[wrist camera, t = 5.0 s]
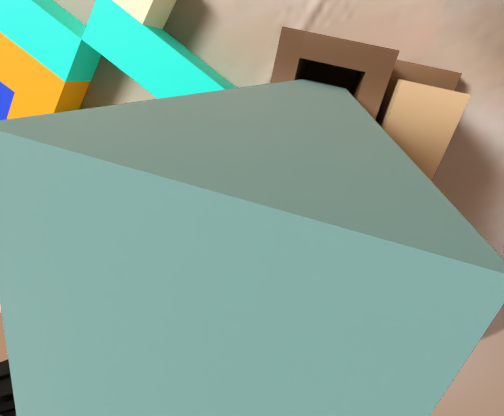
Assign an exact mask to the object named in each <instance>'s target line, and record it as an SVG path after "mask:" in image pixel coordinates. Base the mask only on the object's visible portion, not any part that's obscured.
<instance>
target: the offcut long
mask: <svg viewBox="0 0 504 416" xmlns="http://www.w3.org/2000/svg"><path fill="white" fill-rule="evenodd" d="M470 96H471V95H470V94H465V93H461V92H456V91H452V90H447V89H442V88H438V87H433V86H429V85H424V84H419V83H415V82H410V81H406V80H400V79H391V78H390V79H389V82H388V85H387V88H386V91H385V93H384V96H383V99H382V102H381V105H380V108H379V111H378V113H377V116H376V119H375V121H376V122H377V123H378V124H379V125H380V126H381V127H382V128H383V129H384V131H385V132H386V133H387V134H388V135H389V136H390V137H391V138H392V139H393V140H394V141H395V142H396V144H397V145H398V146H399V147H400V148H401V149H402V150H403V151H404V152H405V153H406V154H407V155H408V157H409V158H410V159H411V160H412V161H413V162H414V163H415V164H416V165H417V166H418V167H419V169H420V170H421V171H422V172H423V173H424V174H425V175H426V176H427V177H428V178H429V179H430V180H431V182H432V179H433V177H434V175H435V173H436V171H437V168H438V166H439V164H440V162H441V160H442V158H443V155H444V153H445V151H446V149H447V147H448V144H449V142H450V140H451V138H452V136H453V133H454V131H455V129H456V127H457V125H458V123H459V120H460V118H461V116H462V114H463V112H464V109H465V107H466V105H467V103H468V101H469V98H470Z"/></svg>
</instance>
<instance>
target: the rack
mask: <svg viewBox="0 0 504 416" xmlns="http://www.w3.org/2000/svg"><path fill="white" fill-rule="evenodd" d="M398 54H399V51H398V50H394V49H389V48H384V47H379V46H374V45H369V44H364V43H360V42H355V41H350V40H345V39H340V38H335V37H331V36H326V35H321V34H316V33H311V32H306V31H302V30H297V29H292V28H287V27H282V30H281V35H280V40H279V44H278V49H277V54H276V59H275V64H274V68H273V73H272V78H271V83H278V82H286V81H293V80H300V79H307V80H311V81H315V82H320V83H324V84H328V85H333V86H337V87H341V88H346V89H347V90H348V92H349V93H350V94H351V95H352V96H353V97H354V98H355V99H356V100H357V101H358V102H359V103H360V105H361V106H362V107H363V108H364V109H365V110H366V111H367V112H368V113H369V114H370V115H371V116H372V118H373V119H374V120H375V119H376V116H377V113H378V111H379V108H380V105H381V102H382V99H383V96H384V93H385V91H386V88H387V85H388V82H389V79H390V78H391V79H400V80H406V81H410V82H415V83H419V84H424V85H429V86H433V87H438V88H442V89H447V90H452V91H454V90H455V88H456V86H457V83H458V81H459V79H460V76H461V74H462V73H458V72H453V71H448V70H443V69H439V68H434V67H429V66H424V65H419V64H415V63H410V62H405V61H400V60H396V59H397V56H398ZM271 83H270V84H271Z"/></svg>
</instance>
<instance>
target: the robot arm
mask: <svg viewBox="0 0 504 416" xmlns="http://www.w3.org/2000/svg"><path fill="white" fill-rule="evenodd" d="M0 416H16V409H15V402H14V395H13V388H12V381H11V374H10V367H9V360H5V361H3V362H0Z"/></svg>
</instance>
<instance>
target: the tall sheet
mask: <svg viewBox="0 0 504 416" xmlns="http://www.w3.org/2000/svg"><path fill="white" fill-rule="evenodd" d="M0 304H1V311H2V318H3V325H4V332H5V339H6V346H7V353H8V360H9V367H10V374H11V381H12V388H13V395H14V402H15V409H16V416H430V414H431V413H432V411H433V410H434V408H435V407H436V405H437V404H438V402H439V401H440V399H441V397H442V396H443V395H444V393H445V392H446V390H447V389H448V387H449V386H450V384H451V383H452V381H453V380H454V378H455V377H456V375H457V373H458V372H459V371H460V369H461V368H462V366H463V365H464V363H465V361H466V360H467V358H468V357H469V355H470V354H471V352H472V351H473V349H474V348H475V346H476V345H477V343H478V342H479V340H480V339H481V337H482V336H483V334H484V333H485V331H486V330H487V328H488V327H489V325H490V324H491V322H492V321H493V319H494V318H495V316H496V315H497V313H498V312H499V310H500V309H501V307H502V306H503V304H504V260H503V258H502V257H501V256H500V255H499V254H498V253H497V252H496V251H495V250H494V249H493V248H492V247H491V245H490V244H489V243H488V242H487V241H486V240H485V239H484V238H483V237H482V236H481V235H480V234H479V232H478V231H477V230H476V229H475V228H474V227H473V226H472V225H471V224H470V223H469V222H468V221H467V219H466V218H465V217H464V216H463V215H462V214H461V213H460V212H459V211H458V210H457V209H456V208H455V206H454V205H453V204H452V203H451V202H450V201H449V200H448V199H447V198H446V197H445V196H444V195H443V193H442V192H441V191H440V190H439V189H438V188H437V187H436V186H435V185H434V184H433V183H432V182H431V180H430V179H429V178H428V177H427V176H426V175H425V174H424V173H423V172H422V171H421V170H420V169H419V167H418V166H417V165H416V164H415V163H414V162H413V161H412V160H411V159H410V158H409V157H408V155H407V154H406V153H405V152H404V151H403V150H402V149H401V148H400V147H399V146H398V145H397V144H396V142H395V141H394V140H393V139H392V138H391V137H390V136H389V135H388V134H387V133H386V132H385V131H384V129H383V128H382V127H381V126H380V125H379V124H378V123H377V122H376V121H375V120H374V119H373V118H372V116H371V115H370V114H369V113H368V112H367V111H366V110H365V109H364V108H363V107H362V106H361V105H360V103H359V102H358V101H357V100H356V99H355V98H354V97H353V96H352V95H351V94H350V93H349V92H348V90H347V89H346V88H341V87H337V86H333V85H328V84H324V83H320V82H315V81H311V80H307V79H300V80H293V81H286V82H278V83H271V84H263V85H256V86H249V87H241V88H234V89H227V90H219V91H212V92H205V93H197V94H190V95H183V96H175V97H168V98H161V99H153V100H146V101H139V102H131V103H124V104H117V105H109V106H102V107H95V108H87V109H80V110H73V111H65V112H58V113H51V114H43V115H36V116H29V117H21V118H14V119H7V120H0Z"/></svg>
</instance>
